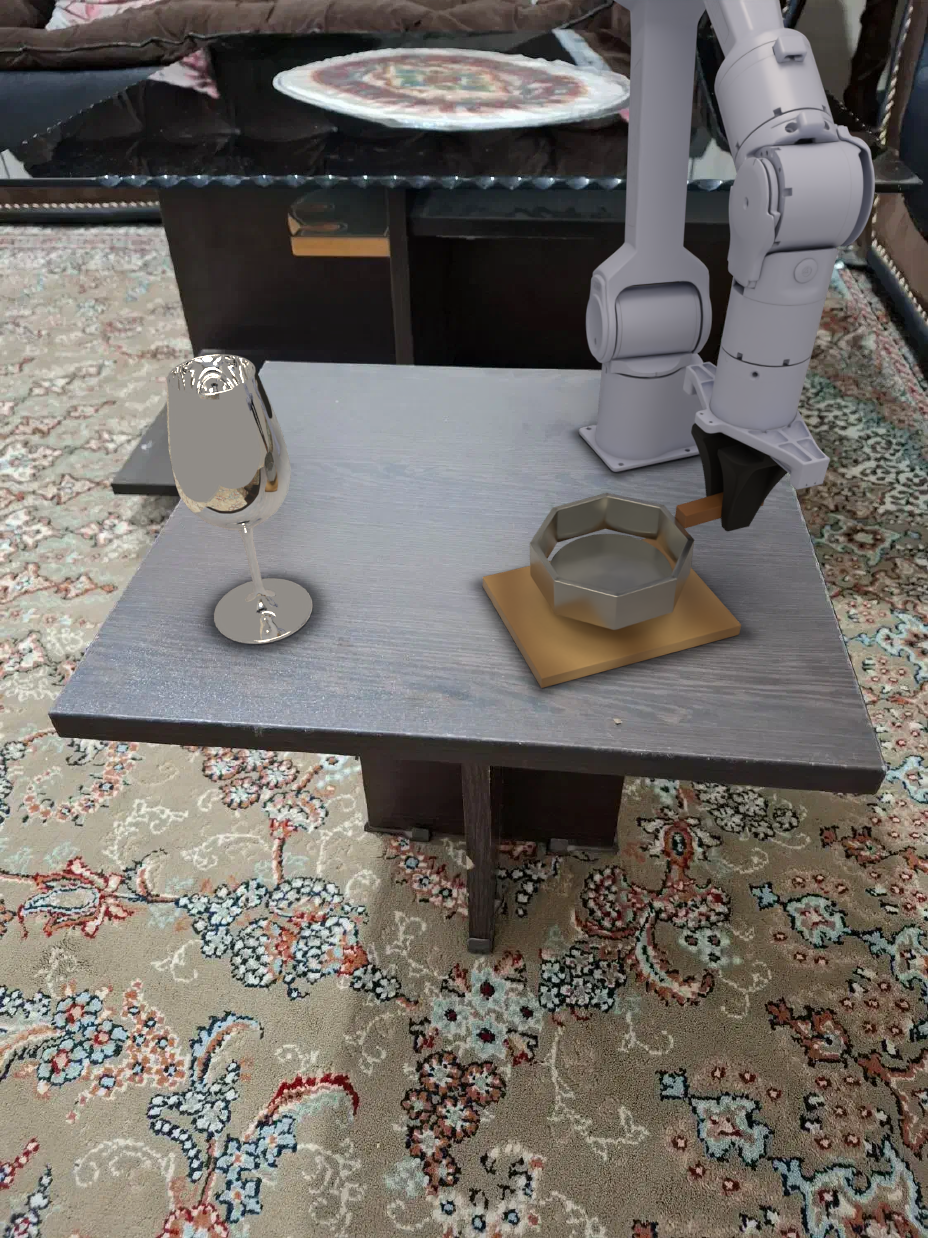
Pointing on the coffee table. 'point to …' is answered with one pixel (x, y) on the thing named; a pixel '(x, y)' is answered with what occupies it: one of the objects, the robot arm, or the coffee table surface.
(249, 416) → the wineglass
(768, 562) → the coffee table surface
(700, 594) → the cutting board
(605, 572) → the saucepan
